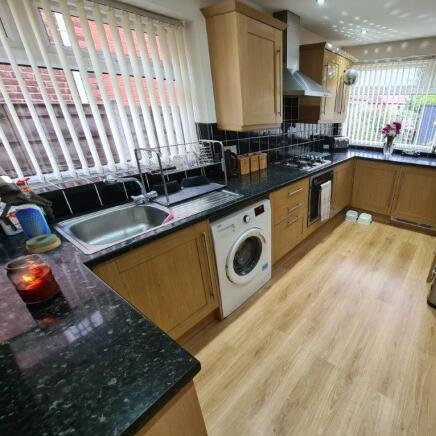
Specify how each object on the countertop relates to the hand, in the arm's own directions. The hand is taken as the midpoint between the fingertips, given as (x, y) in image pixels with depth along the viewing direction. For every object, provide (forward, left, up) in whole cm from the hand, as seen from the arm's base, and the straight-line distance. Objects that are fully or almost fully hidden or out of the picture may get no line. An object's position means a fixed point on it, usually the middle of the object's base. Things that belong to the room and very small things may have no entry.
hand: (35, 223), depth 113 cm
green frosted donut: (+7, -9, -7) cm, 14 cm away
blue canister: (-2, +1, -8) cm, 8 cm away
